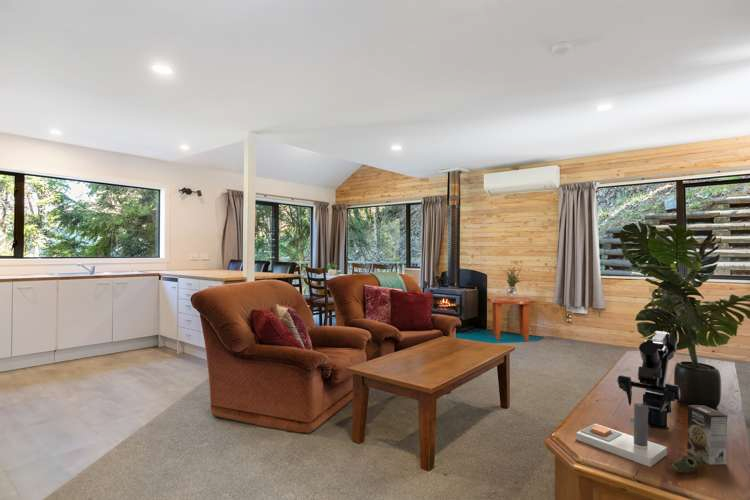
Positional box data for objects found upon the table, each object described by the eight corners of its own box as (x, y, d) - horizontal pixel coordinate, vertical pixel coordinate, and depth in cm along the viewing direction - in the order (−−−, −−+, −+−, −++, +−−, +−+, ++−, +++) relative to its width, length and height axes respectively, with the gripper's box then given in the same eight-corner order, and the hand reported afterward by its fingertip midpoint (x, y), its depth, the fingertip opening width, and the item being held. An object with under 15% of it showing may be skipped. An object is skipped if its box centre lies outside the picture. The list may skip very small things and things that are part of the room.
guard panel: (576, 439, 154) (576, 431, 154) (594, 430, 162) (594, 422, 162) (650, 467, 135) (650, 458, 135) (667, 454, 143) (667, 446, 143)
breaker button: (591, 433, 154) (591, 428, 154) (597, 430, 157) (597, 425, 157) (604, 438, 150) (604, 433, 150) (610, 435, 153) (611, 429, 153)
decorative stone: (702, 483, 126) (703, 466, 126) (671, 474, 130) (671, 458, 130) (702, 468, 134) (703, 452, 134) (673, 460, 139) (673, 445, 139)
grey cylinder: (645, 444, 145) (645, 403, 145) (649, 450, 141) (649, 408, 141) (632, 443, 146) (632, 402, 146) (635, 448, 142) (636, 406, 142)
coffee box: (686, 451, 145) (686, 404, 145) (703, 451, 146) (704, 404, 146) (709, 465, 136) (709, 415, 136) (727, 464, 137) (728, 414, 137)
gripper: (618, 353, 159) (611, 389, 151) (679, 362, 147) (674, 402, 138) (623, 370, 165) (616, 405, 157) (682, 380, 153) (677, 419, 144)
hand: (644, 408), depth 149 cm, fingers open, 9 cm apart
